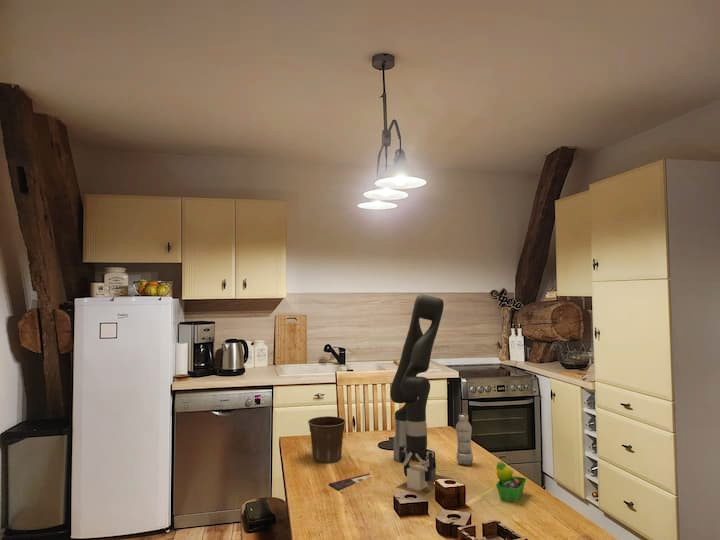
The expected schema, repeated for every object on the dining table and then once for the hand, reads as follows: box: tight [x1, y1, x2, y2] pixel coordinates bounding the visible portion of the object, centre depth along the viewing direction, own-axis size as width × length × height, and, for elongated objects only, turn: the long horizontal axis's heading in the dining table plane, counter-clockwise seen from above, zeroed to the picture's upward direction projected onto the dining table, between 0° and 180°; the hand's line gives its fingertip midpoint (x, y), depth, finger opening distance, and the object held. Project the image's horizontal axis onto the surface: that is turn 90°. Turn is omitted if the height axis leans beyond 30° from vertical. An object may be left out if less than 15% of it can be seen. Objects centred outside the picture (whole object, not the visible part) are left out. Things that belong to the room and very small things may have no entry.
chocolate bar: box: [328, 473, 374, 494], centre depth 190 cm, size 9×1×18 cm
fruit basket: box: [495, 461, 527, 503], centre depth 176 cm, size 11×9×11 cm
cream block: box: [406, 464, 427, 491], centre depth 183 cm, size 5×5×7 cm
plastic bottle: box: [455, 413, 474, 466], centre depth 210 cm, size 6×7×20 cm
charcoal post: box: [430, 467, 437, 481], centre depth 190 cm, size 3×3×5 cm
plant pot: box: [307, 415, 346, 464], centre depth 219 cm, size 16×16×16 cm
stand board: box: [395, 473, 454, 496], centre depth 186 cm, size 20×12×1 cm, turn 140°
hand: (417, 478), depth 183 cm, fingers open, 8 cm apart
